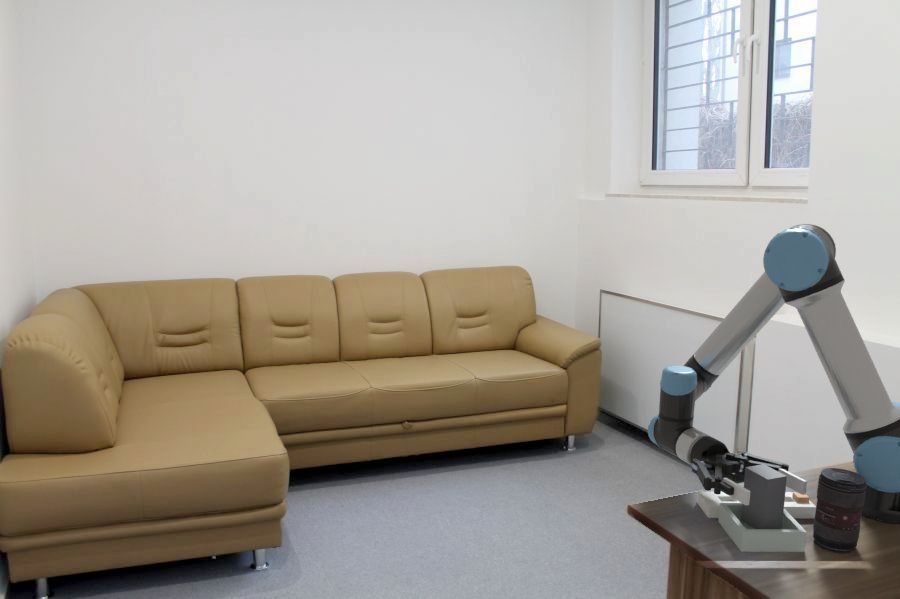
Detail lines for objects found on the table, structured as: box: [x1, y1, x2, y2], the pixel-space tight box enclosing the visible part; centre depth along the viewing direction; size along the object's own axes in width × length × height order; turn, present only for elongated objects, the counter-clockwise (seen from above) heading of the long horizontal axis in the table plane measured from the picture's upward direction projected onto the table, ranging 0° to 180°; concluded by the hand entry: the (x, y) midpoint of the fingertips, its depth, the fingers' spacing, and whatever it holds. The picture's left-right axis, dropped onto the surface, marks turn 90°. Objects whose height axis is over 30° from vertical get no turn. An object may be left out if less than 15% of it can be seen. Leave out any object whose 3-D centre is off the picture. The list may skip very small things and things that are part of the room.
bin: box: [717, 503, 808, 553], centre depth 153 cm, size 12×12×5 cm
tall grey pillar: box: [741, 464, 787, 529], centre depth 152 cm, size 4×6×13 cm
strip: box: [696, 491, 816, 520], centre depth 164 cm, size 22×7×4 cm, turn 91°
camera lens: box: [812, 467, 867, 554], centre depth 149 cm, size 8×8×15 cm
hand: (777, 493), depth 148 cm, fingers open, 13 cm apart
